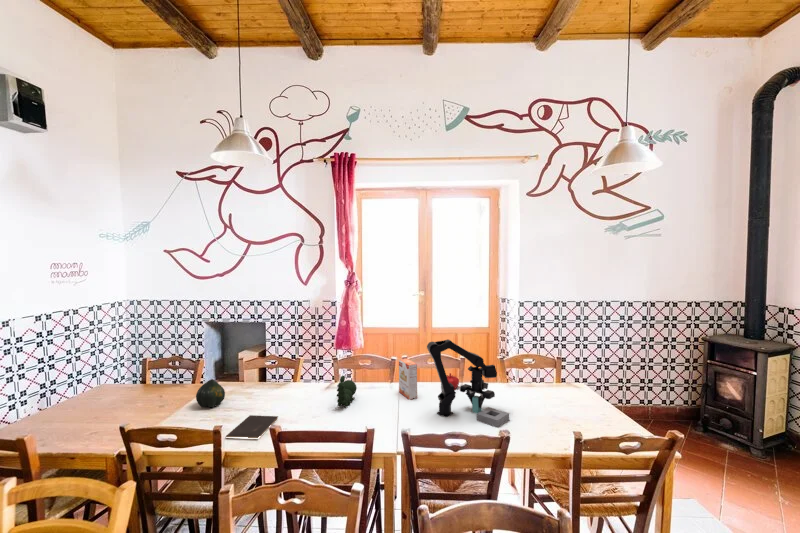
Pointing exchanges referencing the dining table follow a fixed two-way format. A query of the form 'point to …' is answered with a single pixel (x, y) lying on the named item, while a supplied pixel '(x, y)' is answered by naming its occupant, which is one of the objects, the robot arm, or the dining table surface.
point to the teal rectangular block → (475, 405)
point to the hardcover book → (253, 426)
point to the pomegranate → (453, 380)
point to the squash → (210, 394)
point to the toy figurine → (345, 391)
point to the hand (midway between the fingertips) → (476, 407)
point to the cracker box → (408, 378)
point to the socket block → (492, 417)
